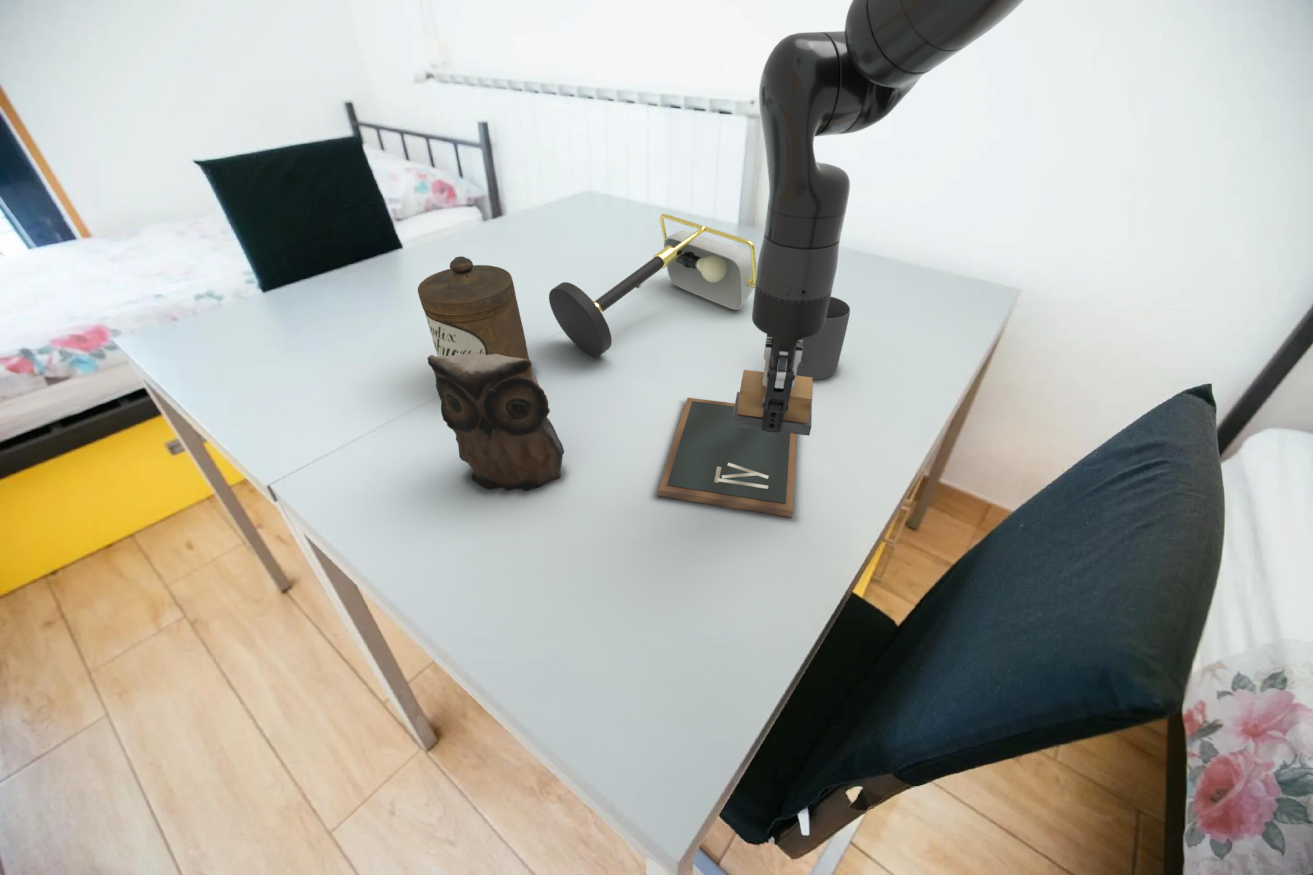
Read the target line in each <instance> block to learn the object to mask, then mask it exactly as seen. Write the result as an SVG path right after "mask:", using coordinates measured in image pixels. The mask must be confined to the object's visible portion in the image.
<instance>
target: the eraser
mask: <svg viewBox="0 0 1313 875" xmlns="http://www.w3.org/2000/svg"><path fill="white" fill-rule="evenodd" d="M763 375H764V371H761V370H760V371H759V370H750V369H743V372H742V375H741V376H742V377H741V382H740V387H739V391H737V392H736V397H735V401H734V403H735V406H734V411H733V417H732V426H739V427H747V428H754V429H761V427H762V420H763V413H764V411H763V409H764V407H762V406H763V398H765V393H766V387H765V386H764V385H763ZM813 381H814V380H813V378H812V377H804V376H797V375H796V379H795V386H794V388H792V389H791V392H790V397H789V402H788V406H789V407H788V410H787V412H786V414H785V413H784V415H783V420H782V426H781V431H780V432H784V433H792V434H797V435H800V436H810V434H811V431H812V424H813V420H812V419H813V418H812V417H813V414H812V413H813V412H812V411H813V388H814V385H813Z"/></svg>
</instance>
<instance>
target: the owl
mask: <svg viewBox="0 0 1313 875" xmlns="http://www.w3.org/2000/svg"><path fill="white" fill-rule="evenodd" d="M427 364H428V365H429V367H431V369H432V371H433V373H434V376H435V387H436V390H437V394H438V398H439V399H440V402H441V403H440V412H441V416H442V419H443V421H444V422H445V423H446V426H447V427H448V428H449V429H451V430H452V431H453V432H454V434H455V440H456V443H457V447H458V454H459V455H458V456H459V458H460V459H461V461H463V462H465V463H467V464H468V465H469V466H470V468H471V469H472V470H473V472H472V473H471V480H472V481H474V482H475V483H476V484H477V485H479V486H481V487H482V488H483V489H486V490H488V491H492V490H495V489H501V488H503V489H504V491H505V492H506V491H512V490H515V489H516V490H520V489H522V490H523V491H524V492H528V491H530V490H533V489H538V488H540V487H542V486H543V485H545V484H547V483H549V482H552V481H554V480H558V479H560V478H561V477H562V471H561V468H562V464H563V458H564V457H563V456H564V454H565V449H564V446H563V443H562V441H561V439H560V438H559V436H558V434H557V431H556V429H555V427H554V425H553V423H552V422H551V420H550V419H549V418H548V415H549V414H550V412H551V409H550V408H549V400H548V398H547V395H546V394H545V390H544V389H543V388H542V387H541V385H540V384H539V383H538V380H537V379H538V378H537V376H536V374H534V373H533V371H532V361H531V360H530V359H529V360H528V359H522V358H515V357H507V356H503V355H499V354H492V355H484V354H477V353H476V354H460V355H454V356H436V355H433V354H430V355H429V356H427ZM530 369H531V370H530Z"/></svg>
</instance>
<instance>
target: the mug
mask: <svg viewBox="0 0 1313 875" xmlns="http://www.w3.org/2000/svg"><path fill="white" fill-rule="evenodd" d="M850 314H851V307H850V305H849V304H848V303H847V302H845V301H844V300H842V299H839V298H838V297H834V296H831V297H830V302H829V306H828V311H827V316H826V320H825V325H824V327H823V329H822V330H821V331H820V332H819V333H817V334H816V335H814V336H811V337H808V338H803V342H802V347H803V351H802V358H801V362H800V363H799V364H798V367H797V373H796V376H804V377H812V378H813V381H814V380H817V381H819V380H825V379H828V378H830V377H832V376H833V375H834V374H835V373H836V371H837V368H838V365H839V361H840V358H841V354H842V349H843V346H844V342H845V338H846V333H847V329H848V324H849V319H850ZM791 370H792V368H791Z"/></svg>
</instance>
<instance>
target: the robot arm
mask: <svg viewBox="0 0 1313 875" xmlns="http://www.w3.org/2000/svg"><path fill="white" fill-rule="evenodd" d="M1024 1H1025V0H852V1H851V3H850V5H849V8H848V11H847V14H846V17H845V24H844V30H841V31H812V32H810V31H809V32H796V33H793V34H789V35H787V36H785V37H784V38H782V39H781V40H779V42H778V43H777V44H776V45H775V46H774V47H773V49H772V51H770V54H769V55H768V58H767V59H766V62H765V64H764V66H763V69H762V72H761V76H760V80H759V88H758V103H759V104H758V105H759V114H760V121H761V128H762V134H763V140H764V148H765V157H766V158H765V159H766V167H767V176H768V199H767V208H766V216H765V224H764V233H763V239H762V242H761V247H760V250H759V255H758V260H757V265H758V269H757V277H756V286H755V288H754V296H753V303H752V304H753V305H752V313H751V320H752V323H753V324H754V326H755V327H756V328H757V330H759V331H761V332H762V333H764V334H766V338H765V346H764V352H763V360H764V361H765V362H764V367H763V368H764V369H763V372H764V375H763V385H764V386H765V387H766V393H765V398H763V406H762V407H764V409H763V411H764V413H763V420H762V427H761V429H762V430H763V431H767V432H774V433H778V432H780V431H781V426H782V420H783V415H784V413H785V414H786V412H787V410H788V407H789V406H788V402H789V397H790V392H791V389H792V388H794V386H795V379H796V376H797V375H796V373H797V367H798V364H799V363H800V362H801V358H802V351H803V347H802V342H803V338H808V337H811V336H814V335H816V334H817V333H819V332H820V331H821V330H822V329H823V327H824V325H825V320H826V316H827V311H828V306H829V302H830V297H832V292H833V286H834V284H835V283H834V282H835V278H836V273H837V269H838V261H839V260H838V259H839V249H840V242H841V238H842V232H843V226H844V222H845V217H846V213H847V207H848V203H849V202H848V201H849V196H850V190H851V181H850V180H851V179H850V177H849V174H848V173H847V172H846V171H845V170H844V169H842V168H841V167H839V166H836V165H833V164H829V163H825V162H819V161H817V160H816V156H815V150H814V142H815V137H826V136H835V135H836V136H837V135H845V134H853V133H856V132H859V131H862V130H865V129H867V128H869V127H871V126H873V125H876V124H877V123H878V122H880V121H882V120H883V119H884V118H886V117H887V116H888V115H889V114H890V113H891V112H892V111H893V110H894V109H895V108H896V107H897V105H899V104H900V102H901V101H903V99H904V98H905V96H907V95H908V93H910V92H911V90H912V89H913V88H914V87H915V85H916V84H917V83H918V82H919V81H920V79H921V78H922V76H923V75H925V74H927V73H929V72H930V71H932V70H934V69H935V68H937V67H938V66H940V65H941V64H943V63H945V62H946V61H947V60H948V59H950V58H951V57H953V56H955V55H956V54H957V53H959V52H960V51H962V50H963V49H965V48H967V47H968V46H969V45H970V44H972V43H974V42H975V41H977V40H978V39H979V38H981V37H982V36H984V35H985V34H987V33H989V31H990V30H992V29H993V28H995V27H996V26H997V25H999V24H1000V23H1001V22H1002V21H1003V20H1004V19H1006V18H1007V17H1008V16H1009V15H1010V14H1012V13H1013V12H1014V11H1015V10H1016V9H1017V8H1018V7H1019V6H1020V5H1021V4H1022V3H1023V2H1024ZM791 368H792V370H791ZM1308 875H1313V872H1312V873H1309V874H1308Z"/></svg>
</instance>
